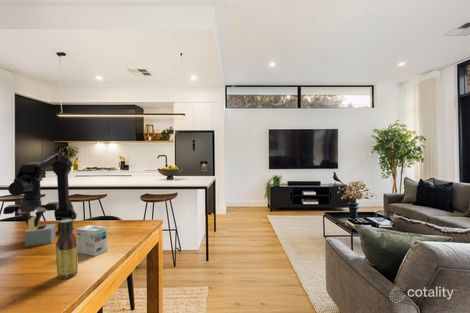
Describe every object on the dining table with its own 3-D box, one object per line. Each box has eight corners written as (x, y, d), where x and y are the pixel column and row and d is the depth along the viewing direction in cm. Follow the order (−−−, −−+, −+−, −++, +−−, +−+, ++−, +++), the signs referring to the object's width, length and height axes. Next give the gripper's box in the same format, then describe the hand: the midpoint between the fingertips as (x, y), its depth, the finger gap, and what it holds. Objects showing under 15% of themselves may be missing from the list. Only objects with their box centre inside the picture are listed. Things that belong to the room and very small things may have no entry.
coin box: (55, 237, 132) (55, 223, 132) (51, 243, 124) (51, 228, 124) (31, 240, 128) (31, 226, 128) (25, 246, 120) (25, 231, 120)
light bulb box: (108, 250, 115) (107, 226, 115) (95, 256, 109) (95, 231, 108) (89, 247, 119) (89, 224, 118) (76, 253, 112) (75, 228, 112)
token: (37, 227, 118) (37, 216, 118) (34, 231, 113) (33, 219, 113) (32, 228, 117) (31, 217, 117) (28, 231, 112) (28, 220, 112)
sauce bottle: (63, 271, 95) (62, 217, 95) (81, 271, 96) (80, 217, 95) (52, 280, 88) (51, 222, 88) (71, 280, 89) (70, 222, 89)
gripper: (-3, 196, 103) (-2, 235, 104) (53, 193, 111) (54, 229, 111) (8, 192, 114) (9, 227, 114) (59, 189, 121) (59, 223, 122)
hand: (33, 227), depth 115 cm, fingers closed on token, 2 cm apart
